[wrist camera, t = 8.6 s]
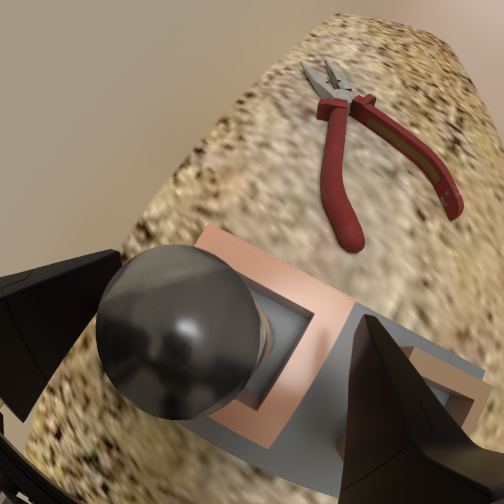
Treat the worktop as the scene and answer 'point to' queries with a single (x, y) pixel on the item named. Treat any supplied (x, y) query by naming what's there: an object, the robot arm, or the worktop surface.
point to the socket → (305, 347)
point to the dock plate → (339, 399)
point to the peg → (180, 332)
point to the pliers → (363, 110)
